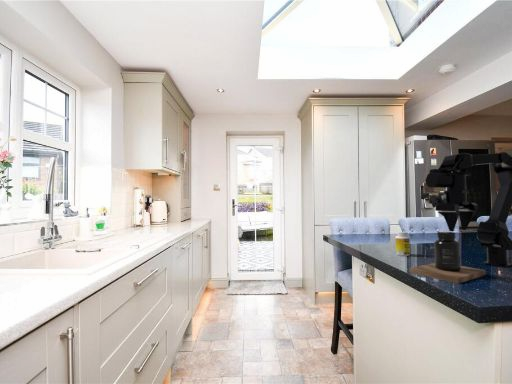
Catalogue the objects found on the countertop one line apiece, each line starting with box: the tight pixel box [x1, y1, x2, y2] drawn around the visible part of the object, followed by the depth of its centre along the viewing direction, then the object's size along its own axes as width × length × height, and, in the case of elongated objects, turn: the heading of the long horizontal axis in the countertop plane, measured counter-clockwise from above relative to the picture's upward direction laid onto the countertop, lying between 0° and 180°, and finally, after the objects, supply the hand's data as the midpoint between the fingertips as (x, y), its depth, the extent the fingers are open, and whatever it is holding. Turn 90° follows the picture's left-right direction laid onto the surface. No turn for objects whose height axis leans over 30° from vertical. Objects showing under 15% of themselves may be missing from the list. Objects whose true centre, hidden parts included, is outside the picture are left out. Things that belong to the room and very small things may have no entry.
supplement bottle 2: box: [433, 231, 462, 271], centre depth 88 cm, size 7×7×12 cm
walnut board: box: [409, 262, 487, 285], centre depth 88 cm, size 18×14×2 cm
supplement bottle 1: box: [394, 231, 411, 257], centre depth 120 cm, size 6×6×10 cm
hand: (457, 230), depth 99 cm, fingers open, 9 cm apart
